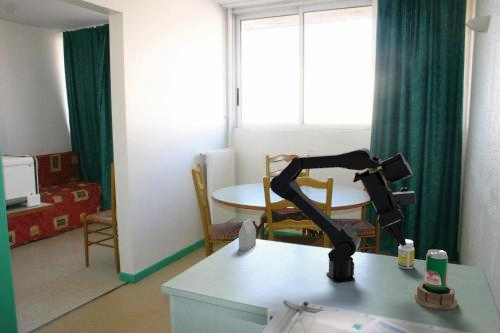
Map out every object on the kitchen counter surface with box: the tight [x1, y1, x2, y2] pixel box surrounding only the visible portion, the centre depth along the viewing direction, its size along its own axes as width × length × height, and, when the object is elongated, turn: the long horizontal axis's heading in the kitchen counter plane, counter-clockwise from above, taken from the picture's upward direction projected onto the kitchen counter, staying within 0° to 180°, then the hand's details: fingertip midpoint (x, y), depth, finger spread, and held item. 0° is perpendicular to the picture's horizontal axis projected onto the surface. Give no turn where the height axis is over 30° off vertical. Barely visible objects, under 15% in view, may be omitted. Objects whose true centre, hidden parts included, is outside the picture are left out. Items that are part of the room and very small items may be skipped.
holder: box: [414, 281, 458, 311], centre depth 105 cm, size 10×10×4 cm
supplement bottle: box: [397, 238, 415, 270], centre depth 128 cm, size 5×5×8 cm
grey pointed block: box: [238, 218, 257, 251], centre depth 148 cm, size 4×7×10 cm, turn 154°
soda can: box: [424, 248, 449, 294], centre depth 104 cm, size 5×5×12 cm
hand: (403, 241), depth 111 cm, fingers open, 9 cm apart
